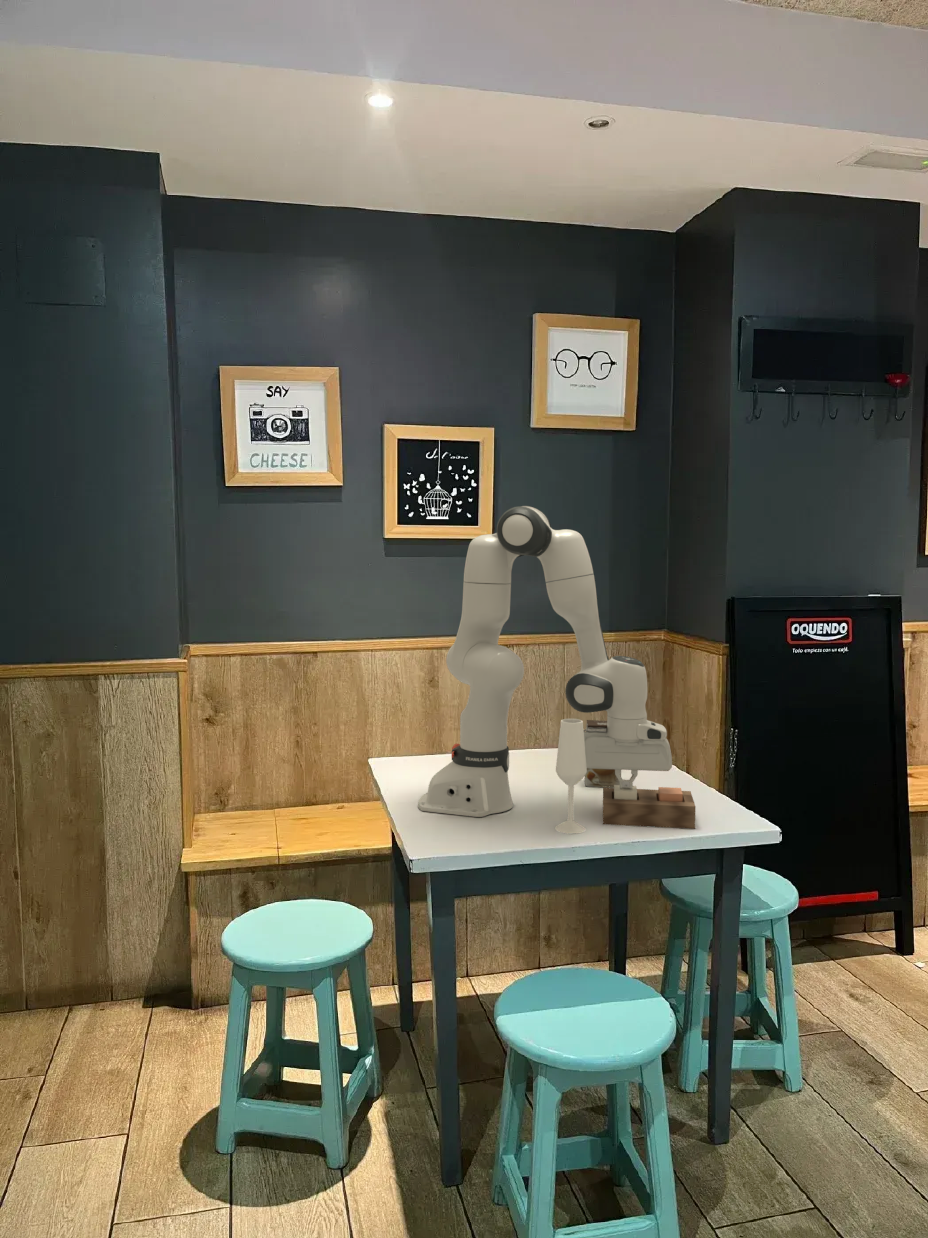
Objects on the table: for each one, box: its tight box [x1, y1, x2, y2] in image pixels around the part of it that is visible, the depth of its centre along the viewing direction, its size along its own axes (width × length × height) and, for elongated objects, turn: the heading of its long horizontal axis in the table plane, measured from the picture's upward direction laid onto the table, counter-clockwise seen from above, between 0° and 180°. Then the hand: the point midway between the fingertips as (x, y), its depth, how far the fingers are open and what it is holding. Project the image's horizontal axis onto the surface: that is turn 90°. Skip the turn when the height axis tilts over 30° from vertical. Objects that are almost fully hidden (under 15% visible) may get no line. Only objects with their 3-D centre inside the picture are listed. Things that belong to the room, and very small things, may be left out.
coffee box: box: [584, 719, 622, 788], centre depth 241 cm, size 9×6×16 cm
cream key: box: [613, 785, 638, 800], centre depth 214 cm, size 5×5×5 cm
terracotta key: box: [657, 786, 683, 802], centre depth 213 cm, size 5×5×5 cm
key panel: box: [602, 787, 696, 829], centre depth 213 cm, size 20×12×5 cm, turn 82°
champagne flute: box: [555, 718, 587, 834], centre depth 205 cm, size 7×7×24 cm
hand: (625, 788), depth 214 cm, fingers closed, pressing on cream key
